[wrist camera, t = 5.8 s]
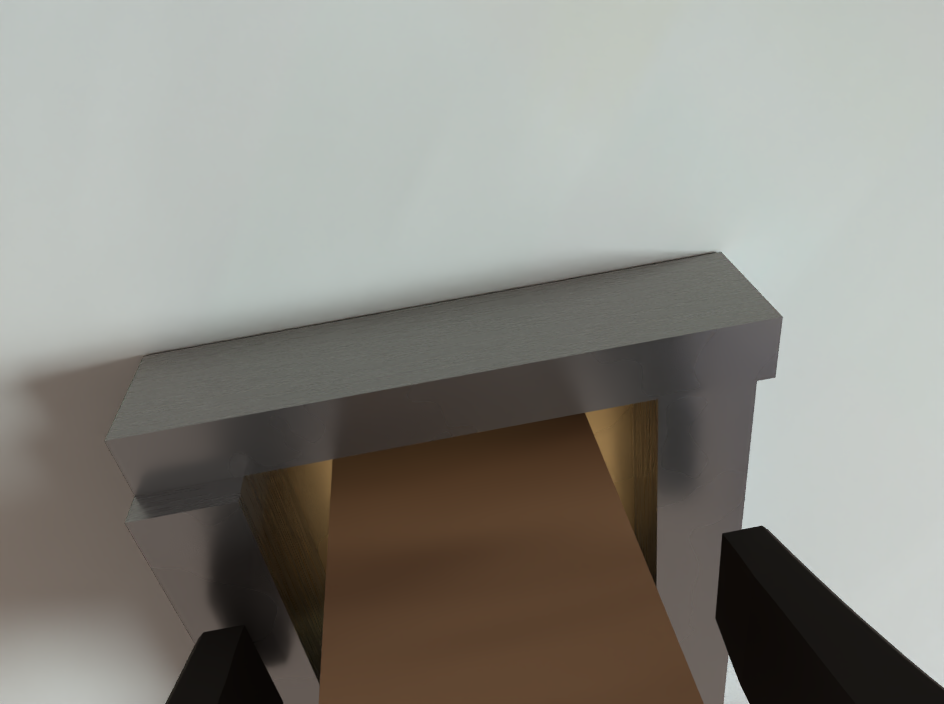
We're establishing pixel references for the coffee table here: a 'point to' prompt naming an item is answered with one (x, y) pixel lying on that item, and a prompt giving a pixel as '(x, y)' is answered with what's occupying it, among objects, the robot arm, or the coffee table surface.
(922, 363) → the coffee table surface
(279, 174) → the coffee table surface
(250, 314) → the coffee table surface
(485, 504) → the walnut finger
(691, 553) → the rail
